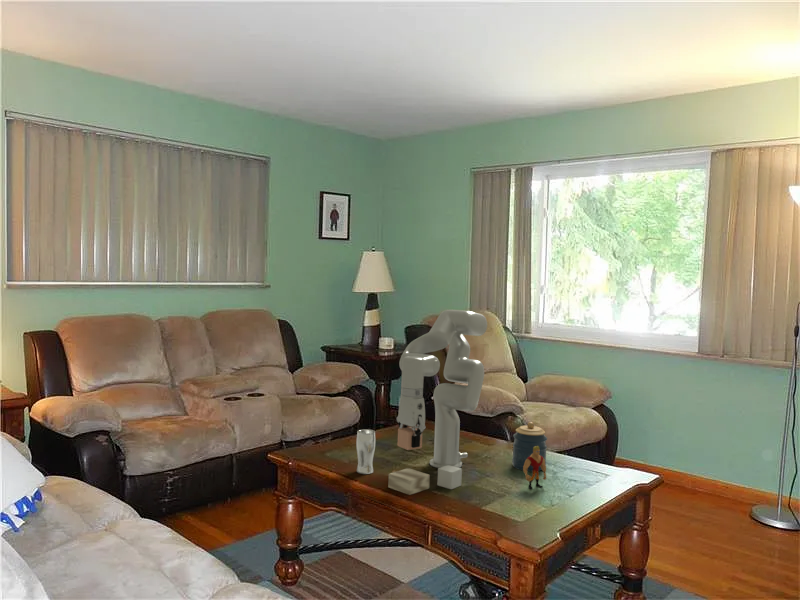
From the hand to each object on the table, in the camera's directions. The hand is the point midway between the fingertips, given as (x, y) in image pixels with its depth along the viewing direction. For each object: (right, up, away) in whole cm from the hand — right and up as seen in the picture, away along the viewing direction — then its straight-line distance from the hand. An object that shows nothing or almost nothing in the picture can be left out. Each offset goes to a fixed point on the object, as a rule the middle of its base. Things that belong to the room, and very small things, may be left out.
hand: (409, 444), depth 219 cm
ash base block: (0, -16, +1) cm, 16 cm away
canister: (+47, -16, +30) cm, 58 cm away
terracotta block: (0, -1, 0) cm, 1 cm away
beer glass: (-16, -14, +17) cm, 27 cm away
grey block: (+14, -16, +5) cm, 22 cm away
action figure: (+44, -17, +6) cm, 48 cm away
